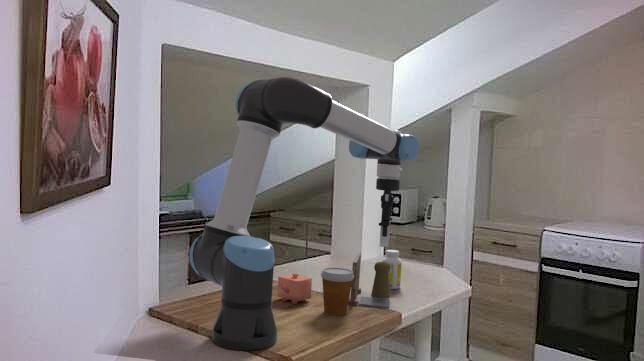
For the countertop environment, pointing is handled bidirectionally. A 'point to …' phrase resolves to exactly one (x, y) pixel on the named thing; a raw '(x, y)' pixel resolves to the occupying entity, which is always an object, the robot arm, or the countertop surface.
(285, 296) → the pink cube teapot
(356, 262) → the screen
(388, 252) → the supplement bottle
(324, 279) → the disposable coffee cup
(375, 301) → the coaster
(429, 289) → the countertop surface
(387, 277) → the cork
